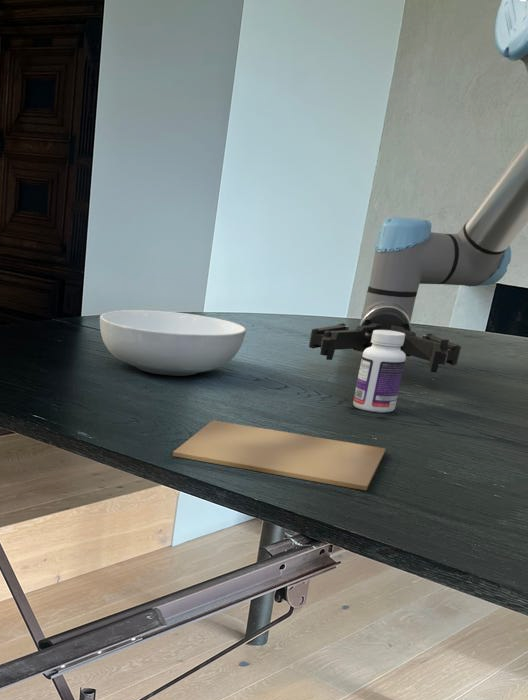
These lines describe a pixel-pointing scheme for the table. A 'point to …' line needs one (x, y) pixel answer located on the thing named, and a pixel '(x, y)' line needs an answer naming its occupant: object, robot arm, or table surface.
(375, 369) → the pill bottle
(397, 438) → the table surface
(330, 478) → the cork mat
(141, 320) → the serving bowl
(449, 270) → the robot arm
